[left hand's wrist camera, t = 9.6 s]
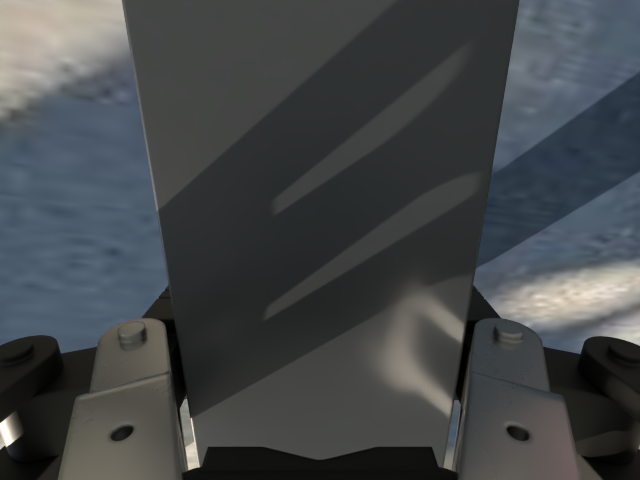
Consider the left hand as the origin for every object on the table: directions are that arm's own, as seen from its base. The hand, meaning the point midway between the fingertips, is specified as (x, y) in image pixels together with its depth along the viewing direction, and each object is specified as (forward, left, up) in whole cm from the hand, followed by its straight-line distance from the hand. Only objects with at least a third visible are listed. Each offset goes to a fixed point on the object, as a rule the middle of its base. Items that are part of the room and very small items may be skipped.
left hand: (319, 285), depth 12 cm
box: (-9, +2, -6) cm, 11 cm away
